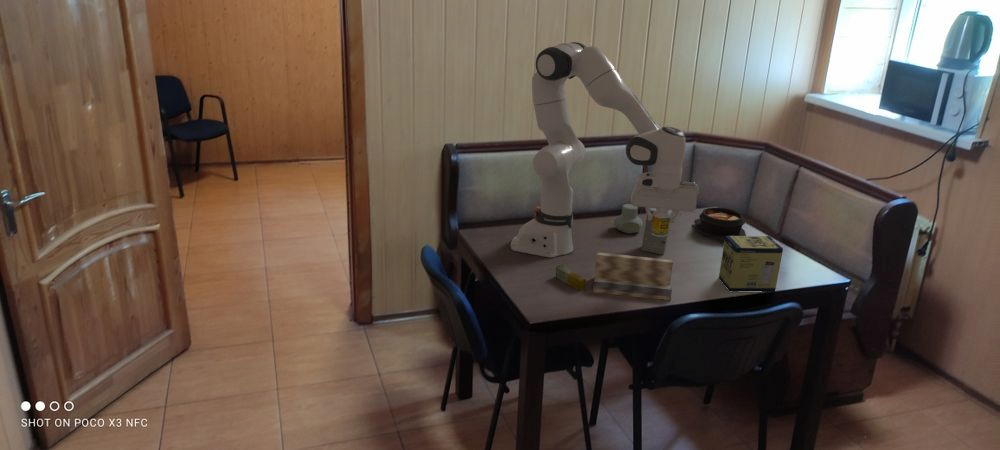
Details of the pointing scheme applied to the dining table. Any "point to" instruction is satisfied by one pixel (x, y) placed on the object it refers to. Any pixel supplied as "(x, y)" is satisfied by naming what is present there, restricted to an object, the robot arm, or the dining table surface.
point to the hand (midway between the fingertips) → (660, 221)
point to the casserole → (720, 223)
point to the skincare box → (654, 237)
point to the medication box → (570, 277)
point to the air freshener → (628, 220)
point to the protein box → (750, 263)
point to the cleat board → (633, 276)
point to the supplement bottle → (660, 222)
